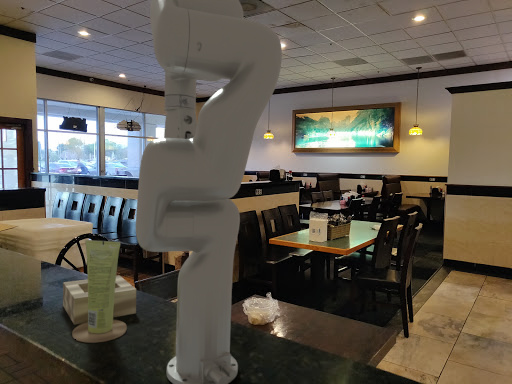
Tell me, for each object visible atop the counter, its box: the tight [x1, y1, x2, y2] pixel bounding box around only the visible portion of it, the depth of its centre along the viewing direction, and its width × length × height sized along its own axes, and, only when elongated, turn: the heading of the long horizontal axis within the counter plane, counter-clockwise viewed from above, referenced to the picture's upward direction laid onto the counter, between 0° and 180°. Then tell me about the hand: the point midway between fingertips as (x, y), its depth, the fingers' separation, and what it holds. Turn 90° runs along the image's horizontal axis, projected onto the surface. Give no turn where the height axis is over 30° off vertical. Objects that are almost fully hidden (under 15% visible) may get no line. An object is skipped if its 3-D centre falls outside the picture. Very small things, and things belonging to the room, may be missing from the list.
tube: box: [84, 239, 121, 334], centre depth 84 cm, size 6×5×20 cm
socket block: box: [62, 275, 137, 326], centre depth 97 cm, size 14×14×6 cm
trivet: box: [71, 319, 128, 344], centre depth 84 cm, size 11×11×1 cm
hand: (178, 175), depth 96 cm, fingers open, 9 cm apart
